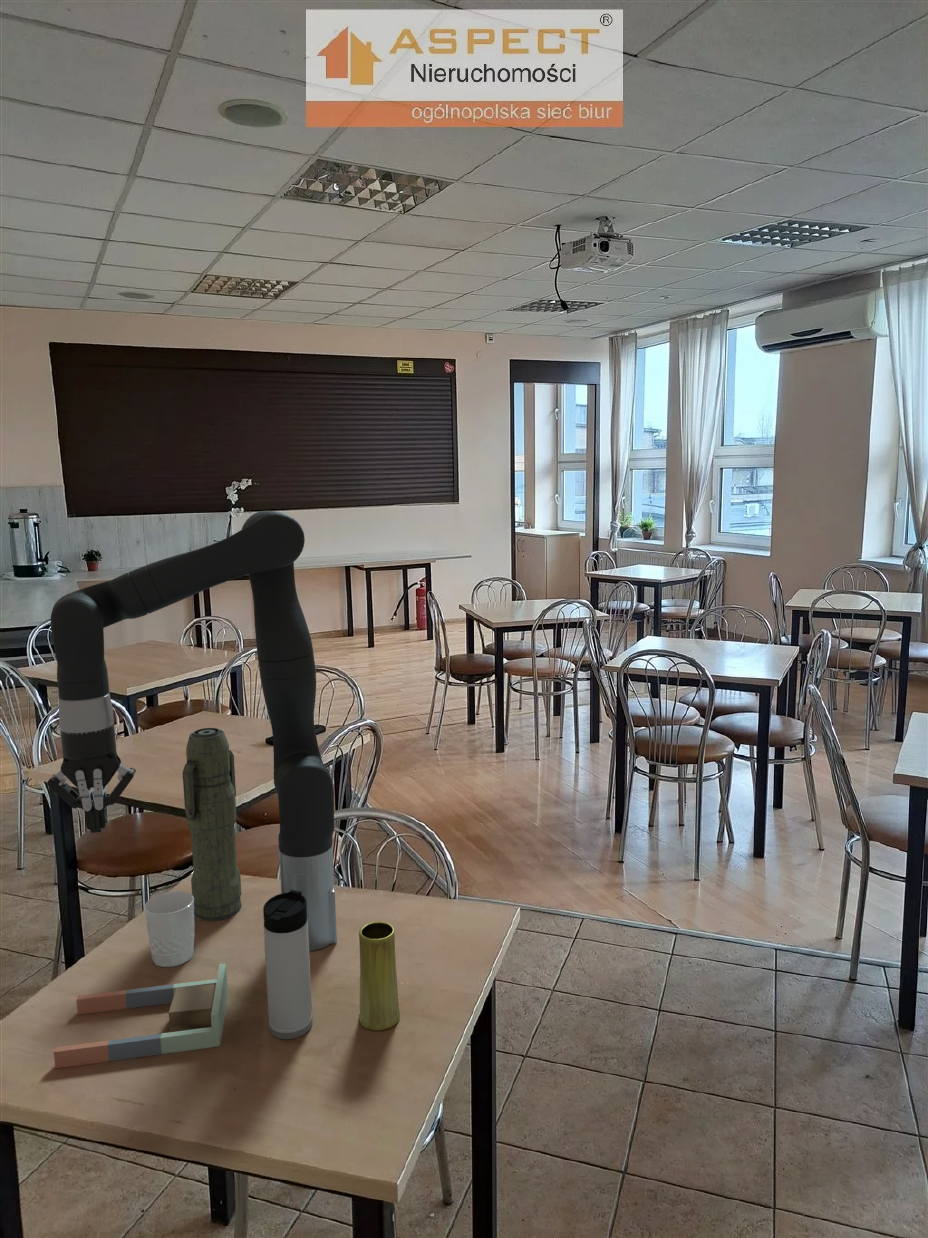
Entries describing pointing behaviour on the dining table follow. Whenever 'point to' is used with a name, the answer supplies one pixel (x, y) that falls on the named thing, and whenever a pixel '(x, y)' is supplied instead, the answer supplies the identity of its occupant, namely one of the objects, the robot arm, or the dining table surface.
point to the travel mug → (287, 965)
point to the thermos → (212, 824)
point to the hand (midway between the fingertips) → (97, 830)
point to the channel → (147, 1043)
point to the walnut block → (191, 1008)
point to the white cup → (171, 927)
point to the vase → (378, 977)
